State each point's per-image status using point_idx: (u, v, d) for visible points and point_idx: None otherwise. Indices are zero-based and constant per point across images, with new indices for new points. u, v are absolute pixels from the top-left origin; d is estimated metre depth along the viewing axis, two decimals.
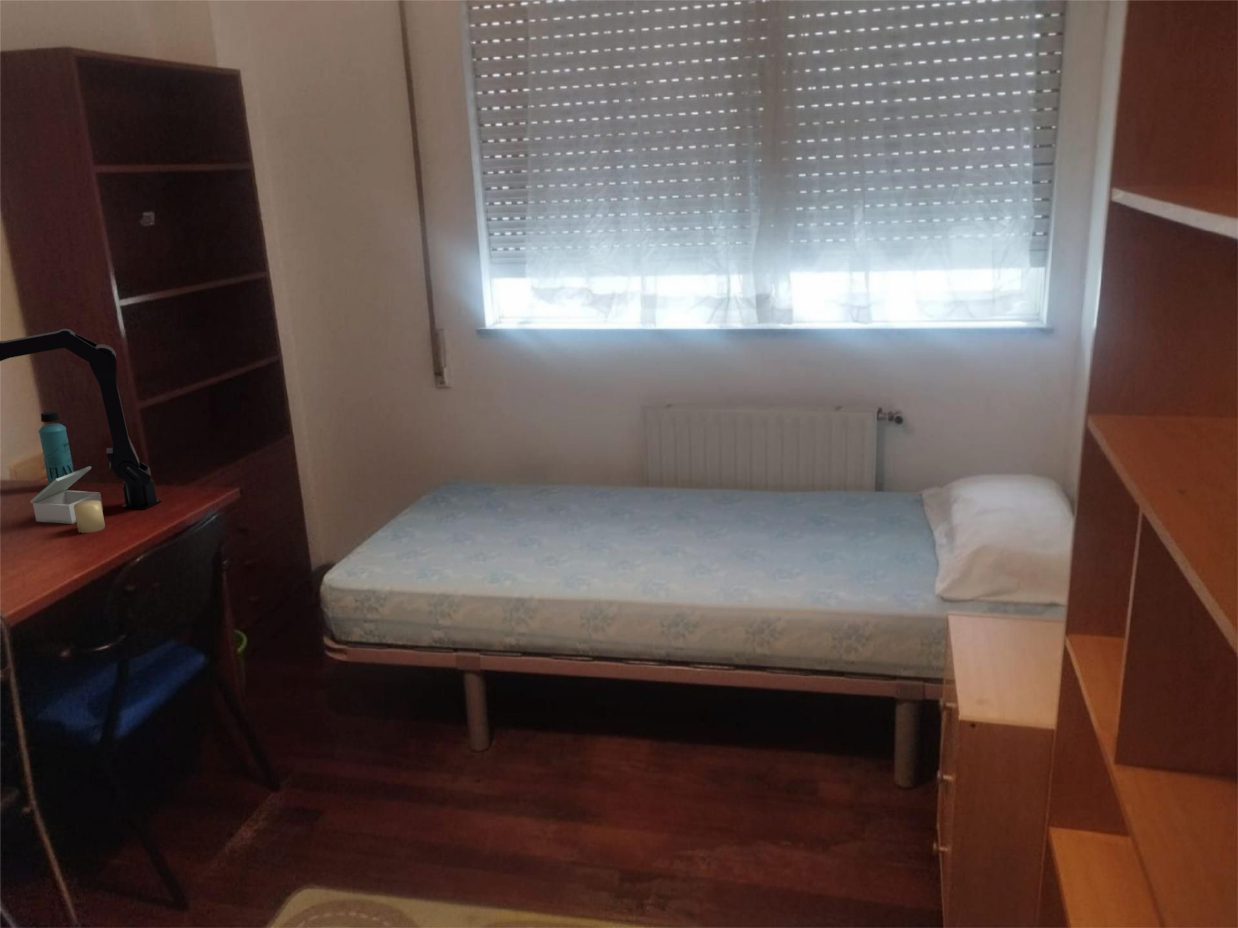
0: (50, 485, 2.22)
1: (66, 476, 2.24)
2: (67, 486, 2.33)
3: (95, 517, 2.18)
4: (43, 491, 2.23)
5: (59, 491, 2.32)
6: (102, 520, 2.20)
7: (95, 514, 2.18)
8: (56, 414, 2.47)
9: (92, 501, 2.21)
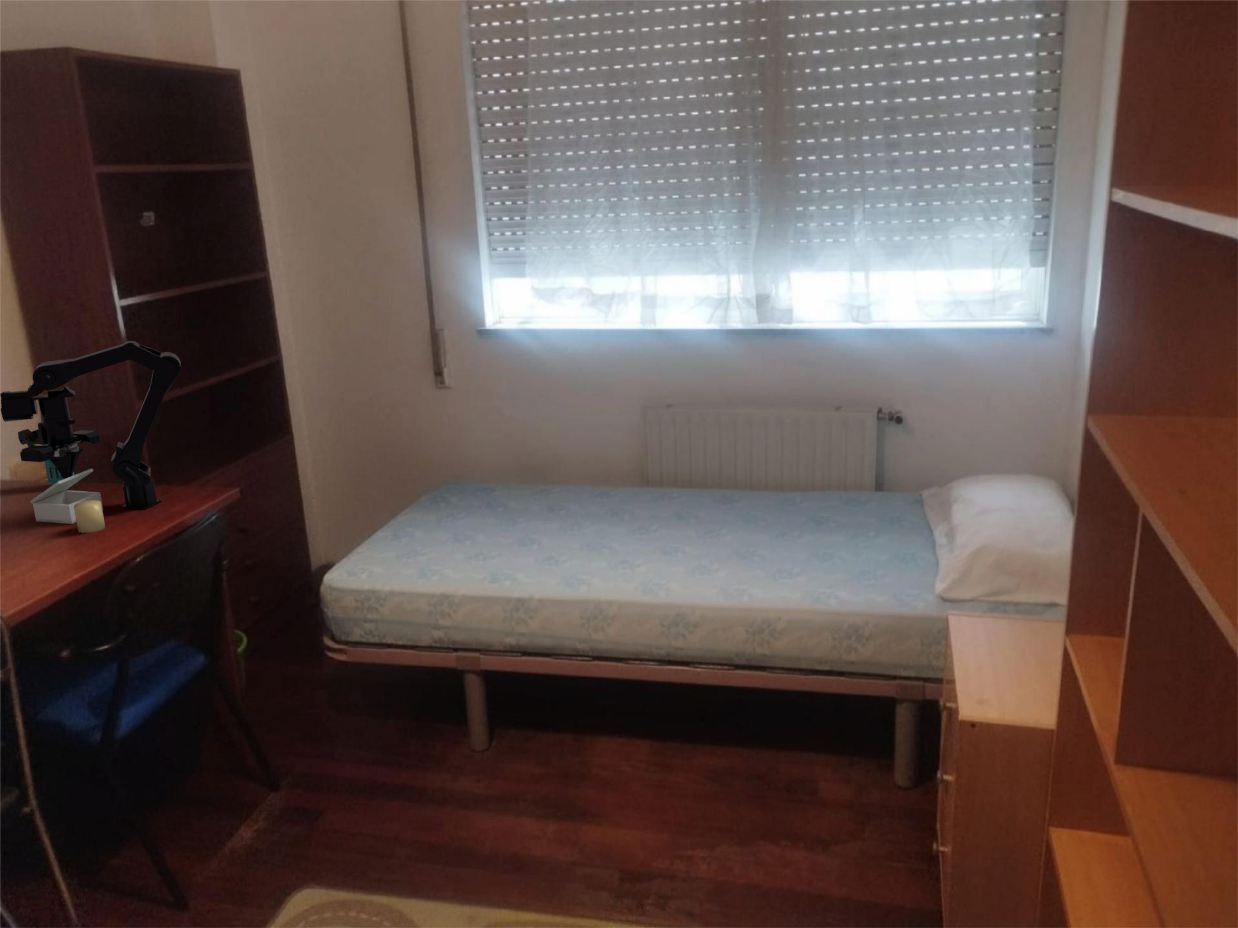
0: (52, 487, 2.22)
1: (68, 479, 2.24)
2: (67, 487, 2.33)
3: (95, 517, 2.18)
4: (44, 492, 2.23)
5: (59, 491, 2.32)
6: (102, 520, 2.20)
7: (95, 514, 2.18)
8: None
9: (92, 501, 2.21)
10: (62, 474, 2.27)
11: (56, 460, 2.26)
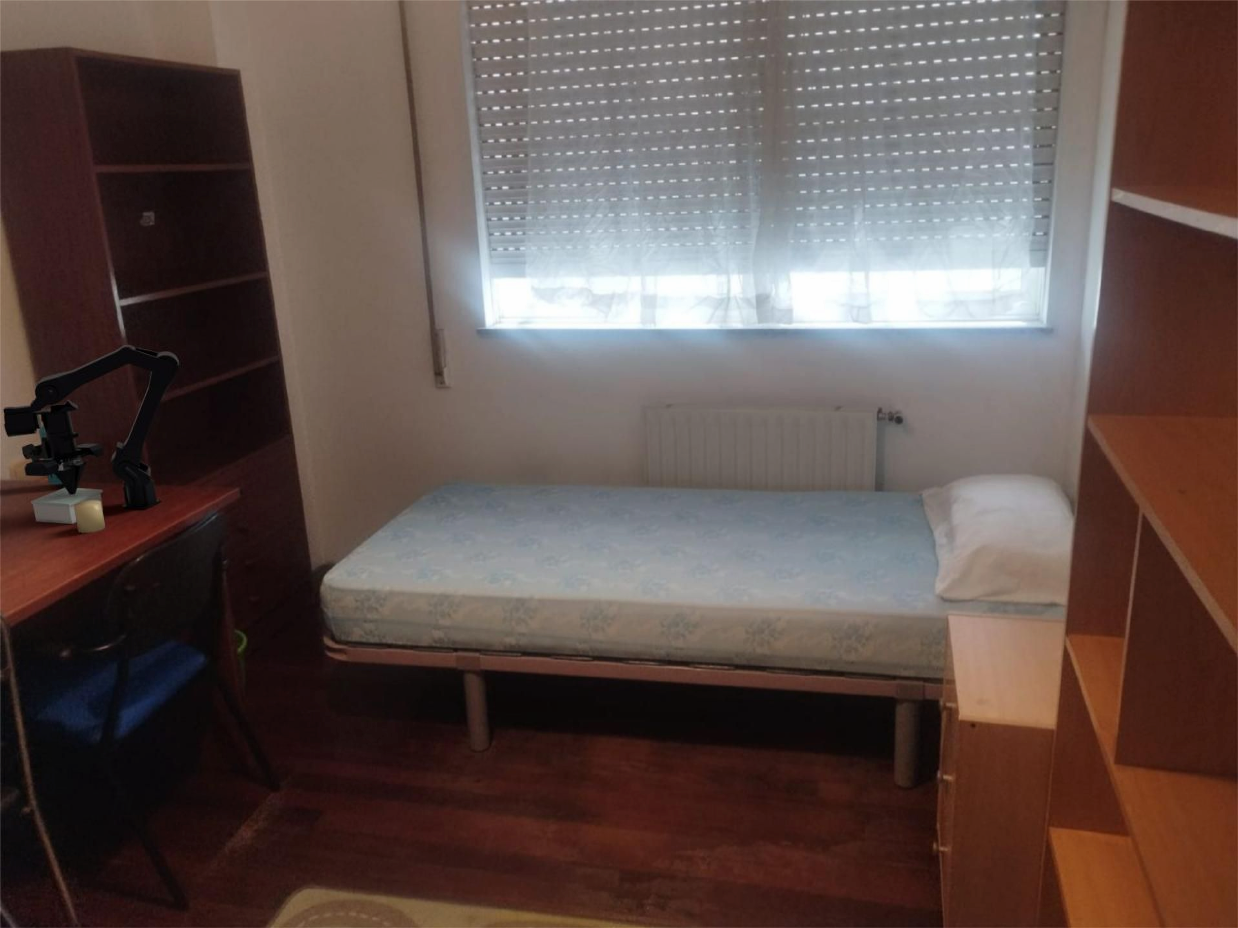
0: (60, 504, 2.23)
1: (78, 501, 2.25)
2: None
3: (95, 517, 2.18)
4: (49, 503, 2.23)
5: None
6: (102, 520, 2.20)
7: (95, 514, 2.18)
8: None
9: (92, 501, 2.21)
10: (67, 488, 2.28)
11: (60, 474, 2.27)
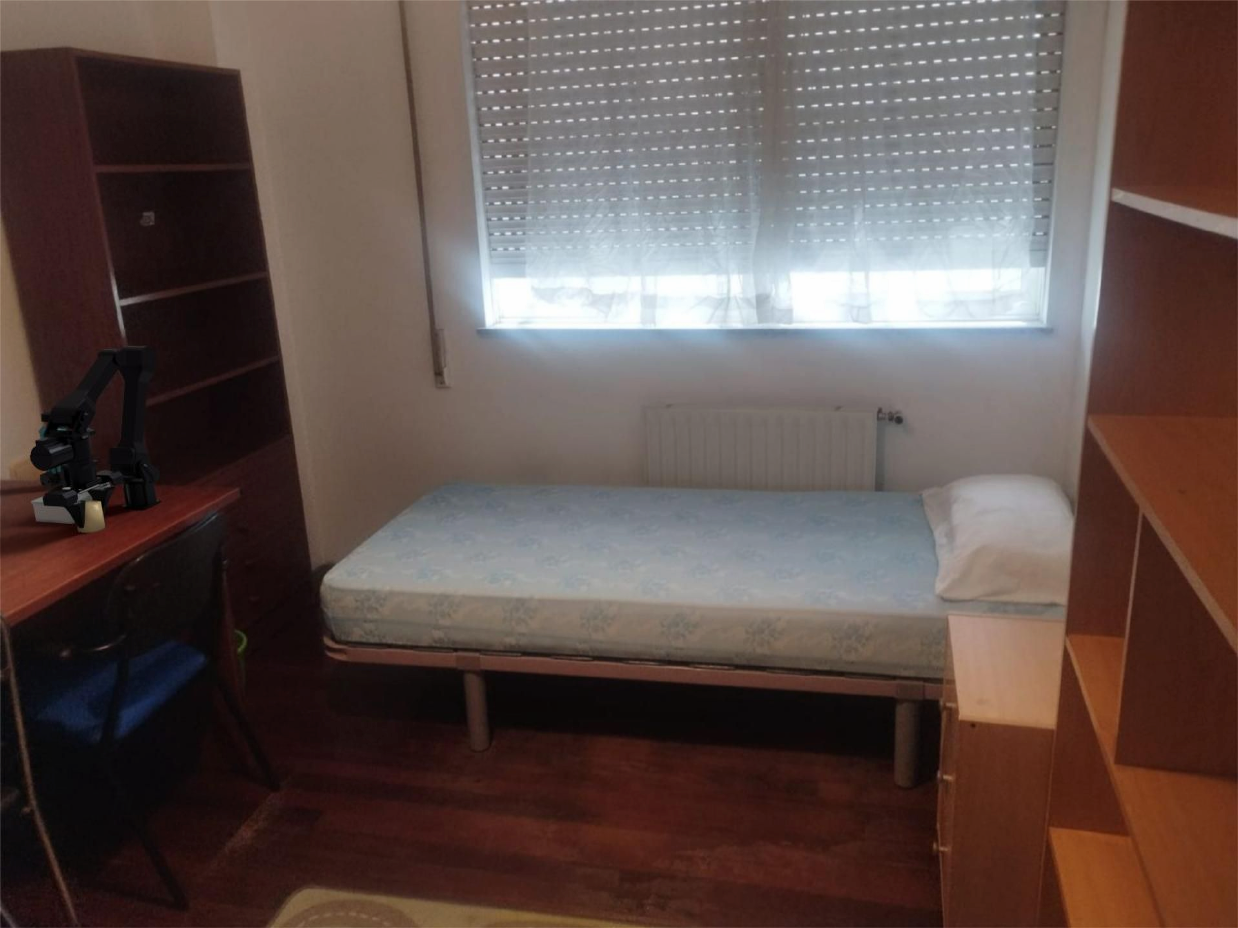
0: None
1: None
2: None
3: (96, 517, 2.18)
4: None
5: None
6: (102, 520, 2.20)
7: (95, 514, 2.18)
8: None
9: (92, 501, 2.21)
10: (76, 521, 2.17)
11: (70, 507, 2.15)
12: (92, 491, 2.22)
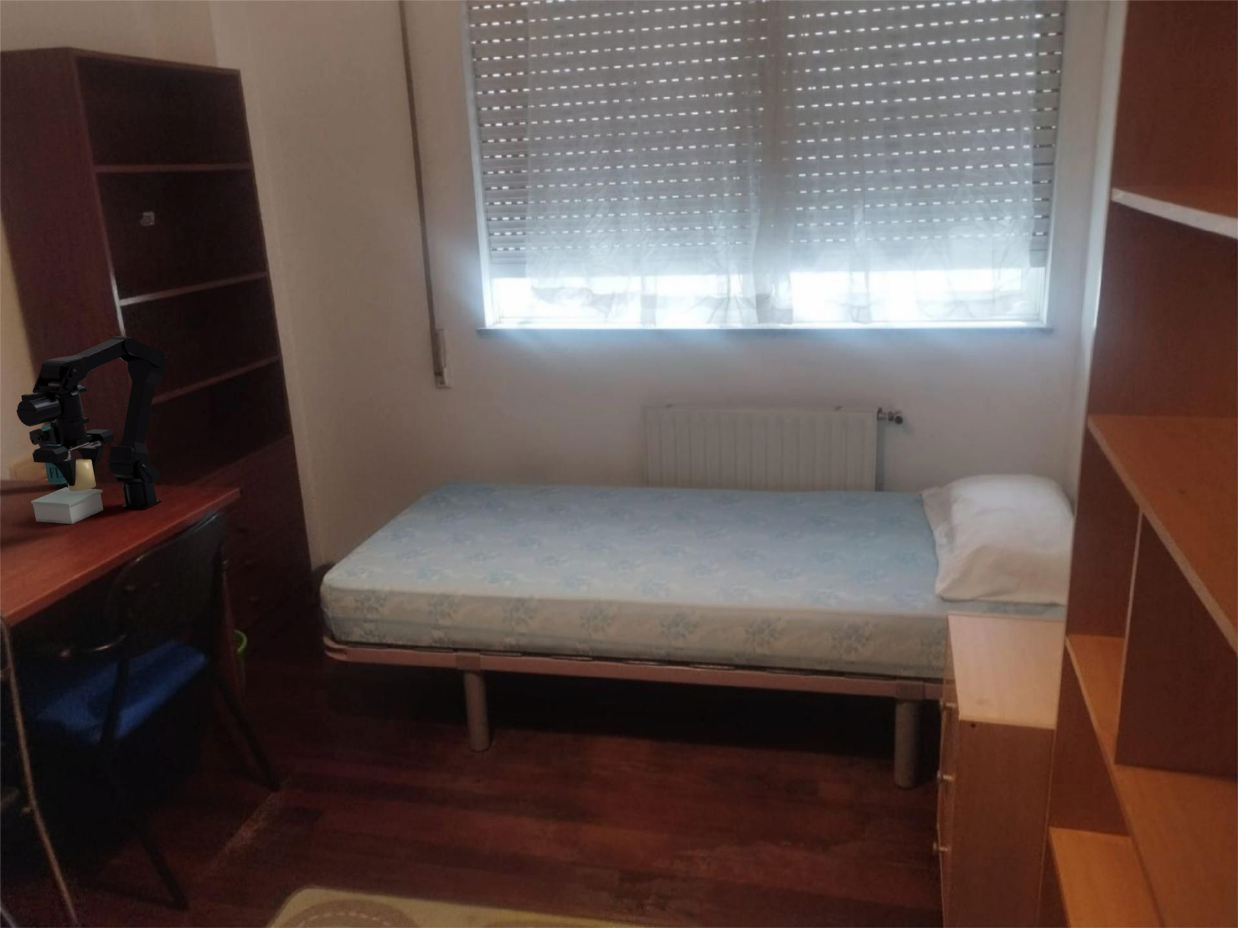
0: (60, 504, 2.23)
1: (78, 501, 2.25)
2: None
3: (86, 475, 2.17)
4: (49, 503, 2.23)
5: None
6: (93, 478, 2.19)
7: (86, 472, 2.17)
8: None
9: (82, 459, 2.19)
10: (67, 479, 2.15)
11: (60, 464, 2.13)
12: (82, 449, 2.20)
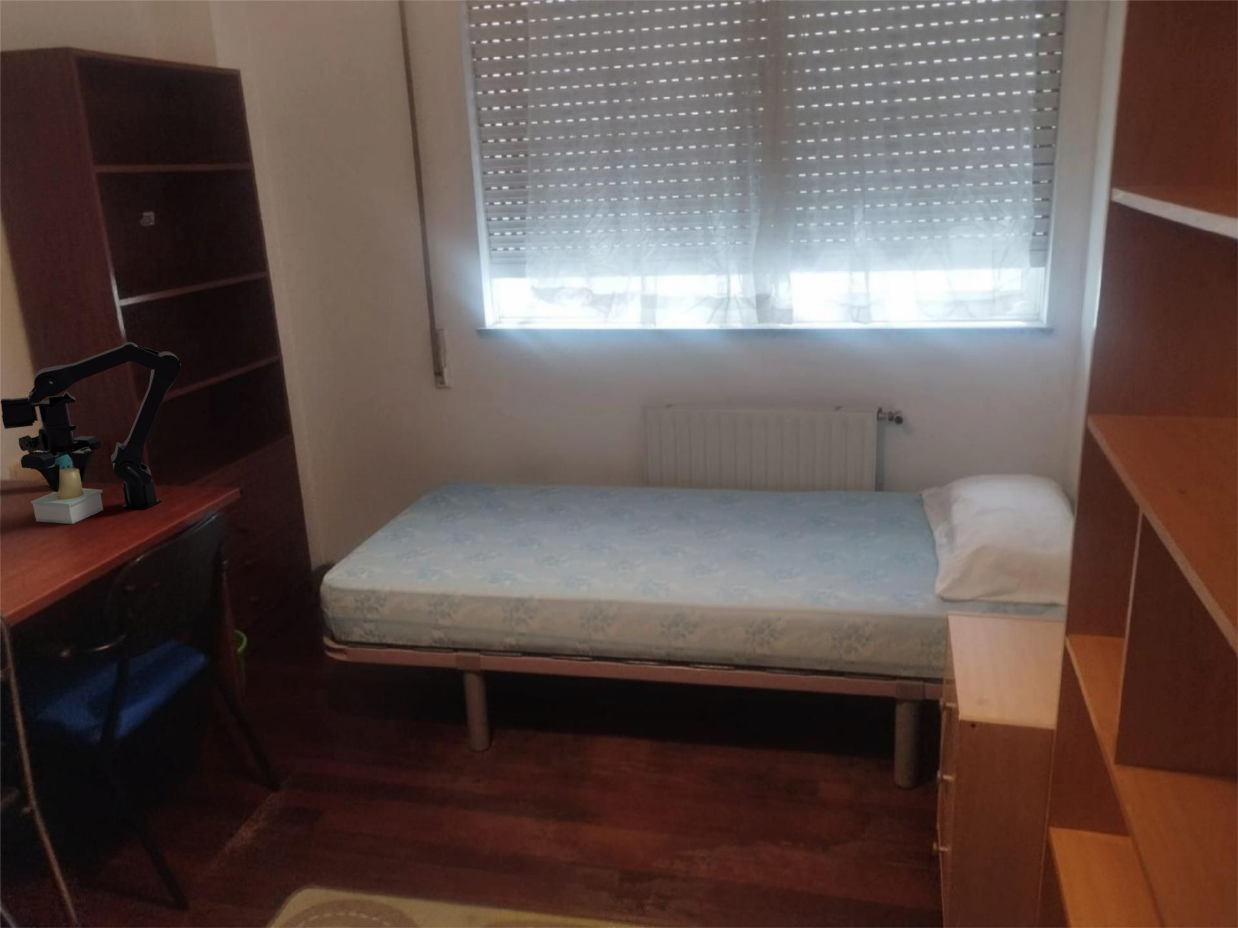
0: (60, 504, 2.23)
1: (78, 501, 2.25)
2: None
3: (74, 484, 2.26)
4: (49, 503, 2.23)
5: None
6: (80, 487, 2.28)
7: (73, 481, 2.26)
8: None
9: (70, 469, 2.29)
10: (51, 485, 2.23)
11: (45, 471, 2.21)
12: (73, 454, 2.30)
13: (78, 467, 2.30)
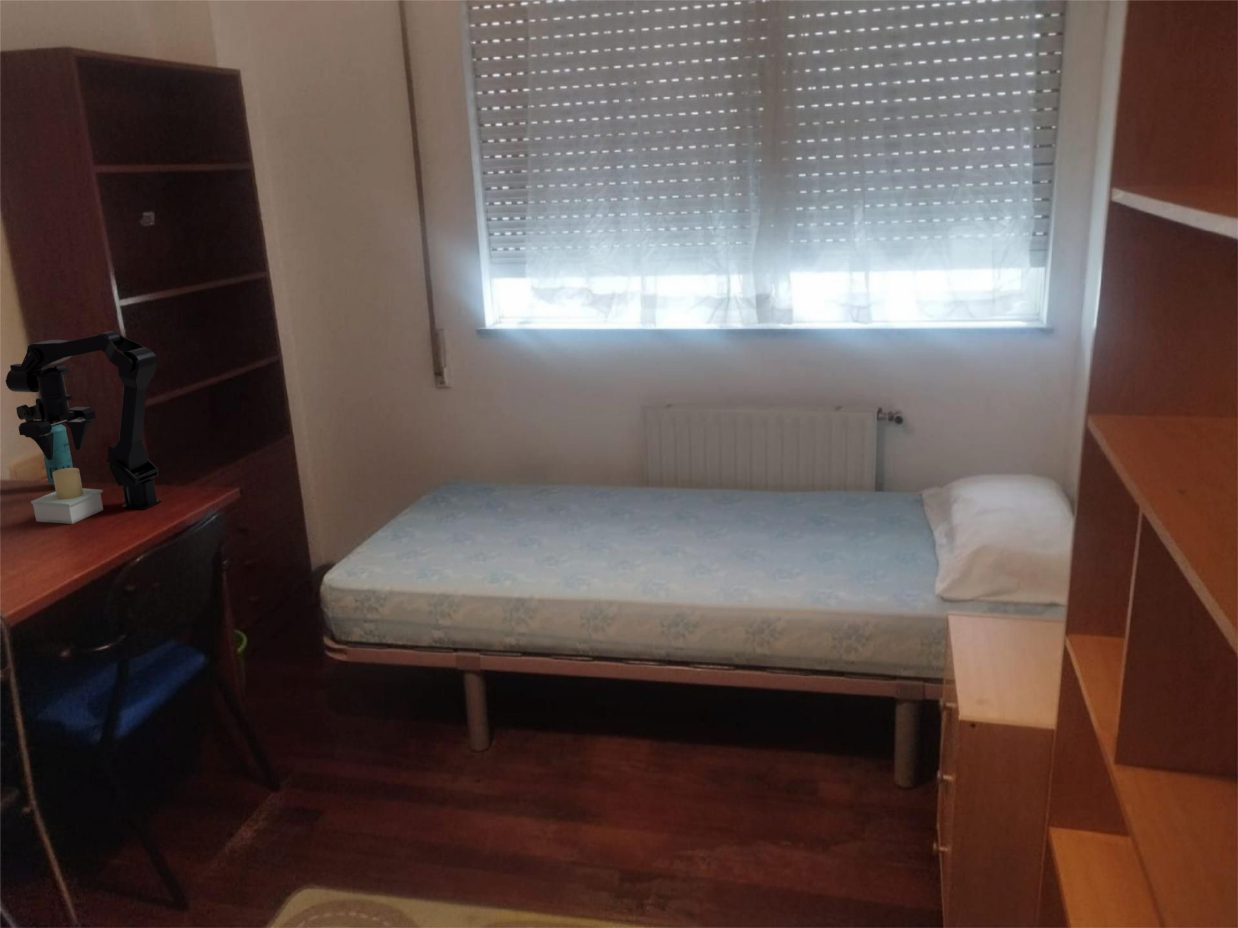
0: (60, 504, 2.23)
1: (78, 501, 2.25)
2: None
3: (73, 484, 2.26)
4: (49, 503, 2.23)
5: None
6: (80, 487, 2.28)
7: (73, 481, 2.26)
8: None
9: (71, 468, 2.28)
10: (45, 453, 2.32)
11: (39, 439, 2.31)
12: (71, 423, 2.41)
13: (76, 435, 2.41)
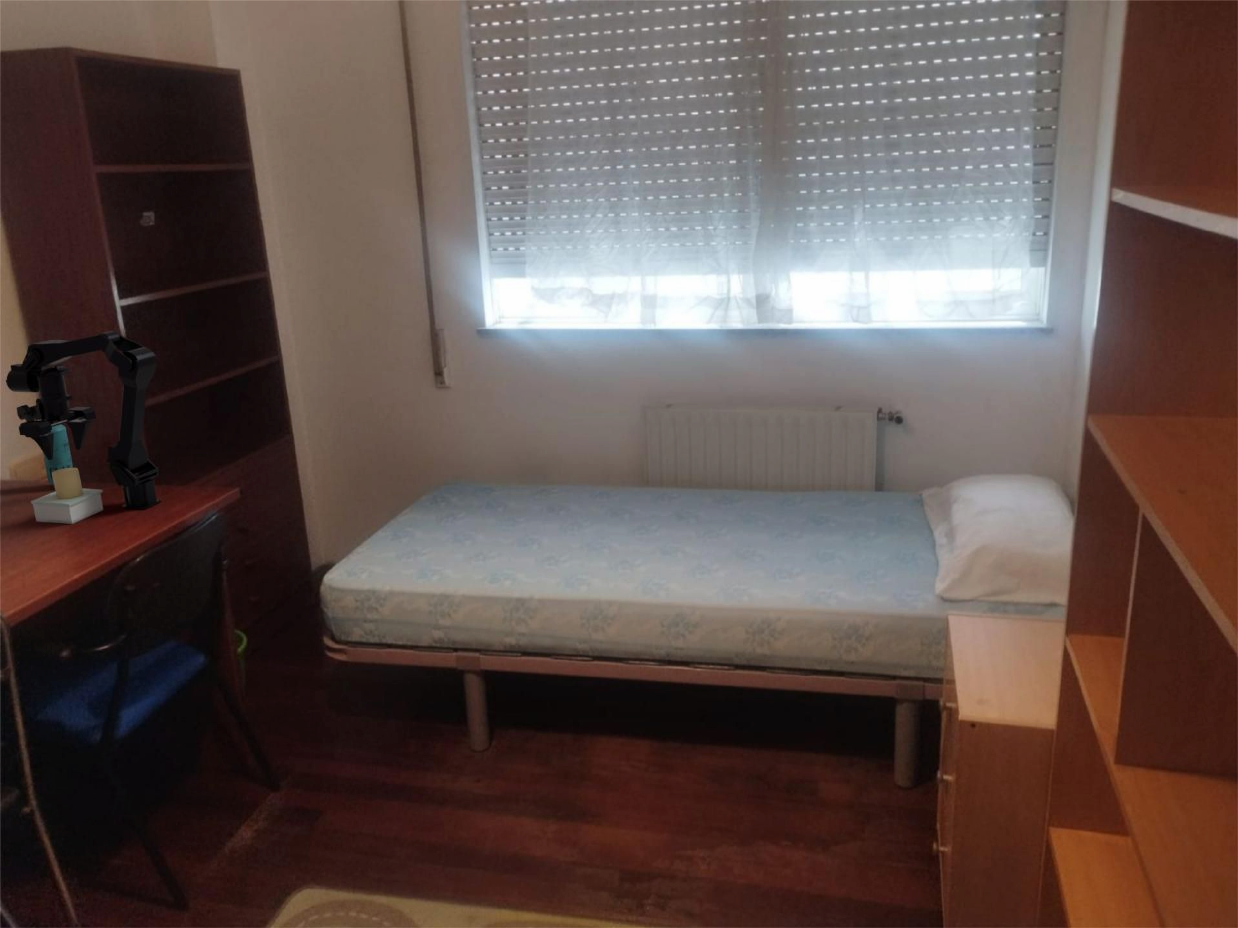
0: (60, 504, 2.23)
1: (78, 501, 2.25)
2: None
3: (72, 484, 2.26)
4: (49, 503, 2.23)
5: None
6: (79, 486, 2.28)
7: (72, 480, 2.26)
8: None
9: (70, 468, 2.28)
10: (45, 453, 2.32)
11: (39, 439, 2.31)
12: (71, 423, 2.41)
13: (76, 435, 2.41)
